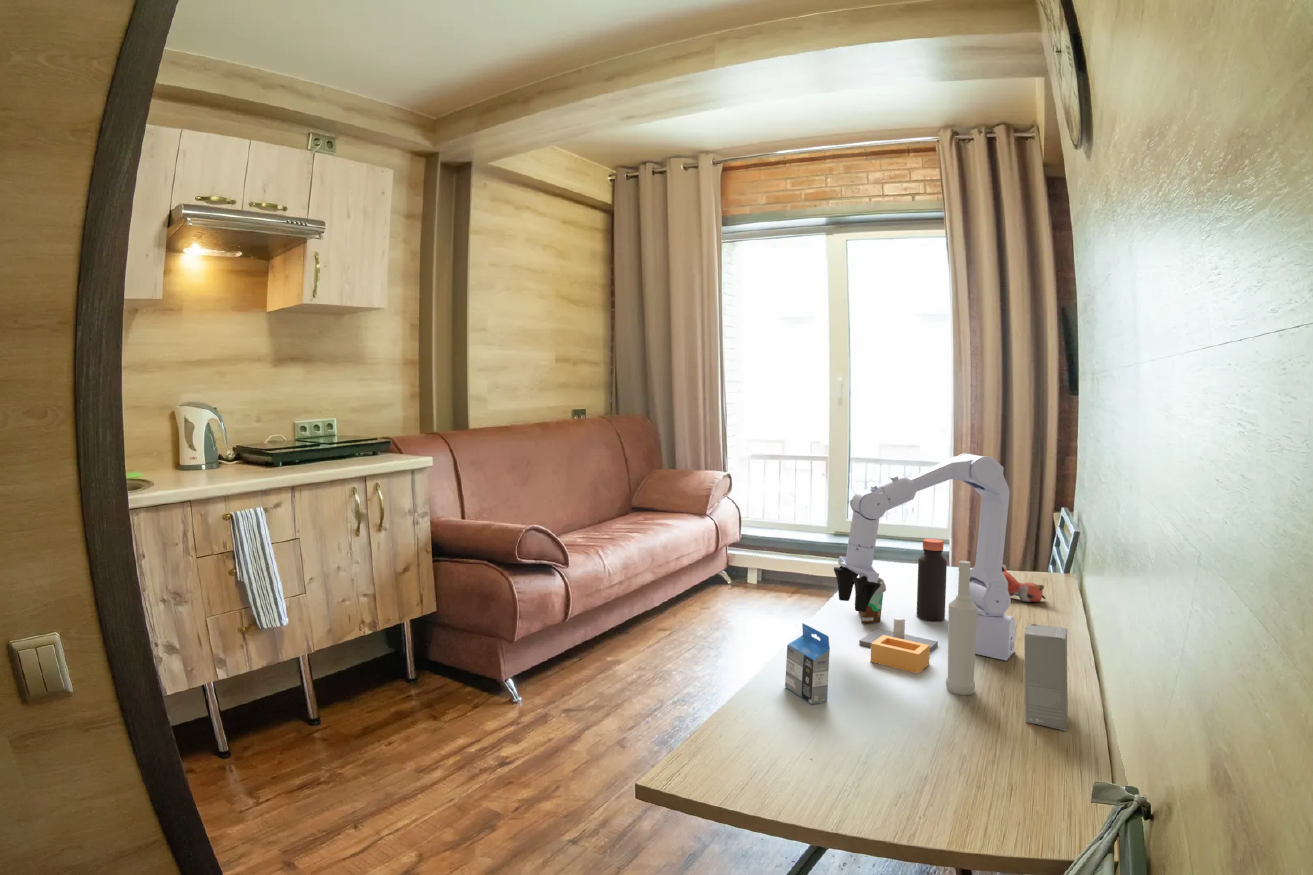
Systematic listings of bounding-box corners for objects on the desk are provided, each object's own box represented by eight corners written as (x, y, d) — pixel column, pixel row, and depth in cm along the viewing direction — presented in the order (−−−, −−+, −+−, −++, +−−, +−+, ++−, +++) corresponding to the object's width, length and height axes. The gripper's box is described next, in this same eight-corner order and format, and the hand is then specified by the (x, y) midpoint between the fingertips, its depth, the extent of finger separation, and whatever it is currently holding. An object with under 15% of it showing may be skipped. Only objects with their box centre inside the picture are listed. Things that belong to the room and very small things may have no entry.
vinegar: (916, 619, 180) (918, 541, 179) (916, 612, 186) (919, 536, 185) (944, 622, 178) (947, 544, 176) (944, 615, 184) (947, 539, 183)
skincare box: (1066, 732, 119) (1070, 640, 119) (1019, 721, 123) (1023, 632, 122) (1068, 713, 127) (1072, 626, 126) (1023, 704, 130) (1027, 619, 130)
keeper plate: (937, 645, 161) (938, 619, 161) (921, 659, 152) (922, 631, 152) (877, 632, 170) (878, 607, 169) (859, 644, 161) (860, 618, 161)
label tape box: (784, 686, 137) (785, 624, 136) (801, 683, 139) (803, 622, 138) (811, 705, 129) (812, 639, 128) (829, 701, 131) (831, 636, 130)
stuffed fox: (999, 568, 208) (1046, 570, 202) (998, 604, 203) (1046, 608, 197) (996, 557, 203) (1044, 560, 197) (995, 595, 198) (1043, 598, 192)
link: (929, 663, 150) (929, 645, 150) (918, 673, 145) (918, 654, 144) (882, 652, 156) (883, 634, 156) (870, 661, 151) (871, 643, 151)
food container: (888, 627, 174) (889, 587, 173) (862, 625, 175) (863, 585, 174) (882, 612, 186) (883, 575, 185) (858, 610, 187) (859, 573, 186)
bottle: (973, 686, 138) (978, 560, 137) (976, 697, 133) (981, 566, 132) (944, 682, 140) (949, 557, 138) (946, 693, 135) (951, 563, 134)
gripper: (830, 536, 161) (820, 594, 162) (860, 550, 147) (850, 614, 148) (858, 539, 163) (849, 596, 163) (891, 554, 149) (881, 617, 149)
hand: (851, 605), depth 156 cm, fingers open, 7 cm apart
